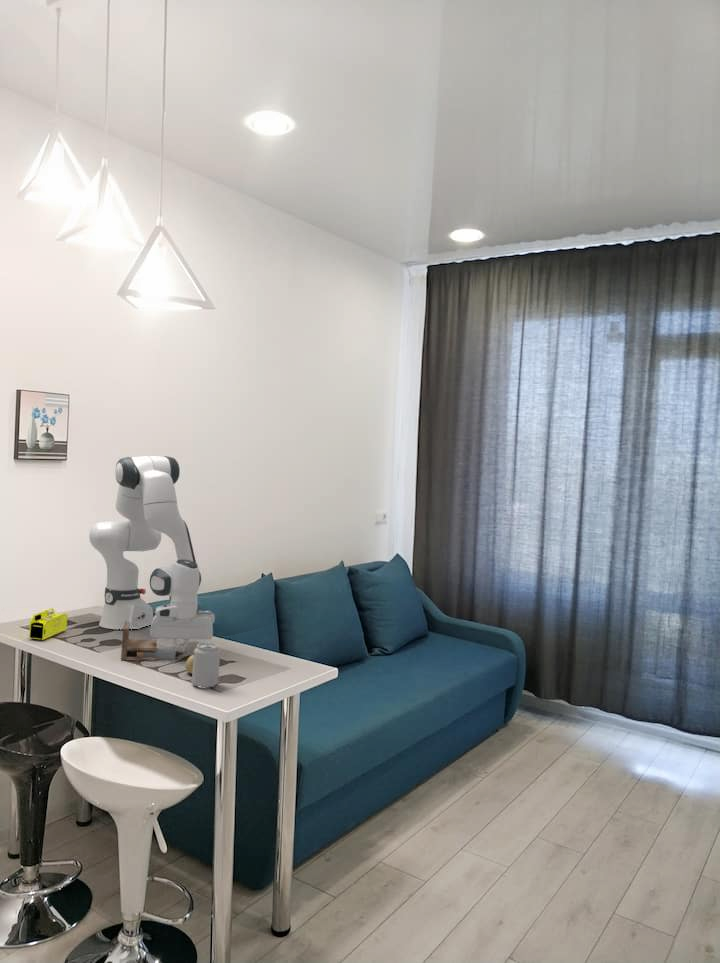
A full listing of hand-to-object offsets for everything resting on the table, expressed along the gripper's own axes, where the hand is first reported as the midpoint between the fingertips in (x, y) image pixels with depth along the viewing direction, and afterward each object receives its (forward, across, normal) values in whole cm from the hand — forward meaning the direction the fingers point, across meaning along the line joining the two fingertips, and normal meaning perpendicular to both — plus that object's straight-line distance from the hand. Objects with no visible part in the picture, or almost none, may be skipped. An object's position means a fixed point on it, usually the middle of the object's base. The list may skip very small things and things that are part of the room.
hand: (180, 651), depth 246 cm
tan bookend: (+2, +13, 0) cm, 13 cm away
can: (+2, -6, +30) cm, 31 cm away
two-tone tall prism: (+2, +8, 0) cm, 8 cm away
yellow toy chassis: (+2, +44, -24) cm, 50 cm away
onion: (+2, -5, +19) cm, 20 cm away
